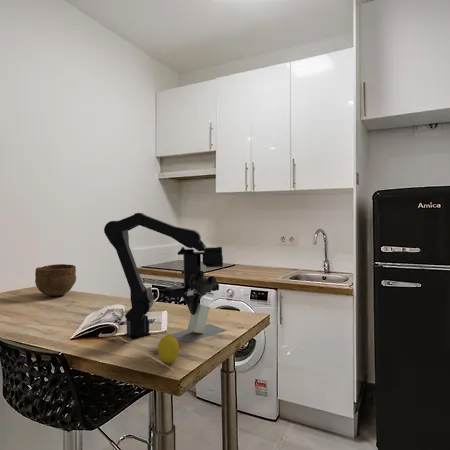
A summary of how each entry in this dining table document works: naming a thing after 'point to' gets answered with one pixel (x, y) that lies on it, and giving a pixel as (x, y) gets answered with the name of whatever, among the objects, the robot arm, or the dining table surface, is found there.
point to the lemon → (168, 349)
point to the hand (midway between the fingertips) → (193, 314)
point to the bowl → (55, 279)
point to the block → (199, 319)
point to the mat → (191, 336)
